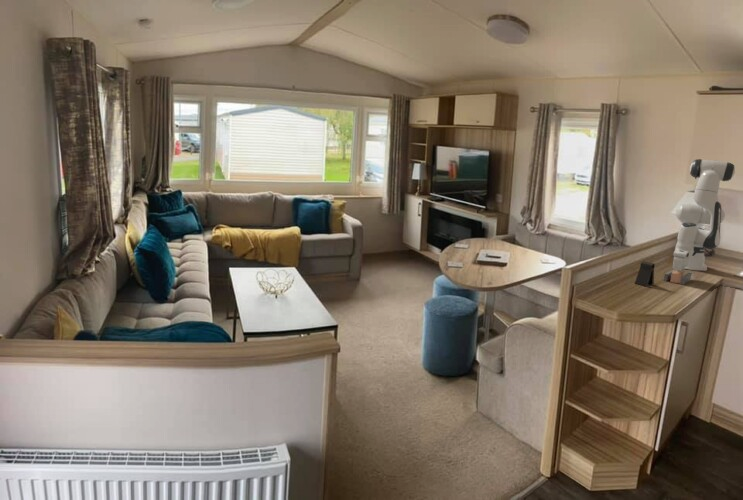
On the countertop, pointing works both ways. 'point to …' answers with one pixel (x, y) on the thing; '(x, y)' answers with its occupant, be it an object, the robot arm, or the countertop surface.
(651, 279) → the phone stand
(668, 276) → the channel
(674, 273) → the block
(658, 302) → the countertop surface
